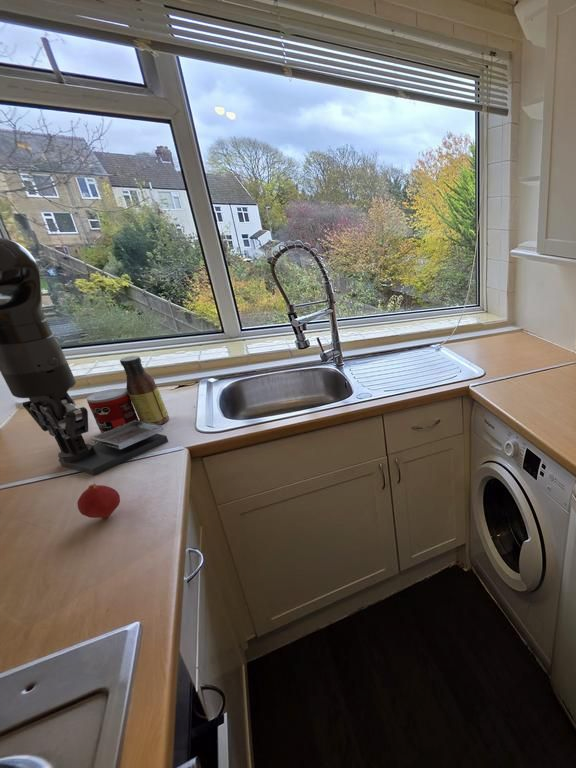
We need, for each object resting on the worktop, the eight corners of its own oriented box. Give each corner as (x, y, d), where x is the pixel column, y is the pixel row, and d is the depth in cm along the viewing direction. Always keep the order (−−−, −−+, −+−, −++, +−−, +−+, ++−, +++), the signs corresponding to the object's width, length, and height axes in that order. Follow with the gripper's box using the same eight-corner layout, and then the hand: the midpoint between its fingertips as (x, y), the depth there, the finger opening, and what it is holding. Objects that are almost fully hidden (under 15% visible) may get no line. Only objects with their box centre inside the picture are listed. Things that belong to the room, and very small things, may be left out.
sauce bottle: (158, 416, 119) (134, 352, 111) (175, 418, 118) (153, 354, 110) (134, 427, 113) (108, 360, 106) (153, 429, 112) (127, 362, 104)
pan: (119, 449, 96) (117, 444, 96) (92, 442, 99) (89, 437, 99) (164, 430, 105) (162, 425, 105) (137, 424, 108) (135, 419, 107)
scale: (93, 477, 92) (87, 464, 91) (58, 466, 96) (52, 454, 94) (168, 441, 107) (164, 430, 105) (136, 433, 110) (131, 422, 109)
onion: (79, 522, 79) (62, 488, 76) (115, 504, 84) (100, 472, 81) (96, 530, 77) (80, 496, 74) (132, 511, 82) (118, 479, 79)
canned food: (98, 432, 111) (82, 395, 106) (135, 421, 117) (122, 386, 112) (106, 440, 107) (90, 403, 102) (145, 428, 113) (131, 392, 108)
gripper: (-23, 366, 67) (25, 456, 73) (29, 377, 63) (74, 471, 70) (38, 353, 73) (77, 436, 80) (88, 362, 69) (124, 448, 76)
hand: (75, 452), depth 75 cm, fingers closed
